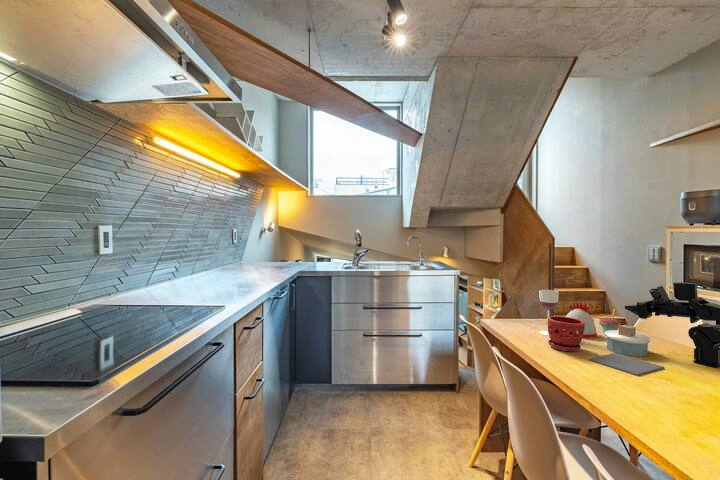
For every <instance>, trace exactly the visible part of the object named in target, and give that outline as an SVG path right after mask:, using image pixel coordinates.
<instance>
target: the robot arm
mask: <svg viewBox="0 0 720 480" xmlns="http://www.w3.org/2000/svg"><path fill="white" fill-rule="evenodd" d="M672 286H673V287H672V288H673V295H674V296H673V297H674V298H675V299H676V300H678V301H676V300H675V299H670V297H669V294H668V293H667V291H666V289H665V288H664V286H663V285H660V286H656V287H652V288H649V289H648V292H649V293H650V295H651V298H653V299H652V300H644V301H637V302H636V304H634V305H633V304H632V305H624V309H625V310H627V311H629V312H630V313H632V314H634V315H636V316H638V318H639V319H641V320H646V319H647V320H648V319H650V318H652V316H653V313H654V316H655V317H656V316H657V317H659V316H667V318H672V317H677V318H678V317H679V318H687V319H689V323H690V324H696V323H698V322H699V321H701V320H703V321H711V322H712V321H713V322H720V304H719V303H714V302H710V301H708V300H707V299H704V298H703V297H700V296H698V295H699V294H698V283H695V282H694V283H693V282H683V281H681V282H680V281H679V282H672ZM687 335H688V337H689V338H690V340H692V342H693V345H694V347H695V348H693V360H692V362H693V363H695V364H700V365H703V366H708V367H712V368H720V324H711V323H708V322H704V323H700V324H697V325H695V326H692V327H690V328H689V329H688V331H687Z"/></svg>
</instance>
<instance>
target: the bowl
mask: <svg viewBox="0 0 720 480" xmlns="http://www.w3.org/2000/svg"><path fill="white" fill-rule="evenodd" d="M606 349H607V350H609V351H611V352H613V353H618V354H621V355H624V354H625V356H631V355H632V357H644V356H648V354H649V343H646V344H635V343H627V342H621V341H616V340H613V339H610V338H608V337H606Z"/></svg>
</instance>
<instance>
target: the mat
mask: <svg viewBox="0 0 720 480" xmlns="http://www.w3.org/2000/svg"><path fill="white" fill-rule="evenodd" d="M588 361H590V362H594V363H597V364H600V365H603V366H605V367H608V368H612V369H615V370H618V371H621V372H624V373H626V374H629V375H633V376H636V377H637V376H641V375H645V374H650V373H653V372H657V371H660V370H664V369H665V366H662V365H660V364H656V363H654V362H653V363H652V362H648V361H646V360H642V359H638V358H634V357H633V356H632V357H631V356H629V355H624V354H620V353H616V352H613V353H609V354H603V355H599V356H594V357H590V358H588Z"/></svg>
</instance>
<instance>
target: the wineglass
mask: <svg viewBox="0 0 720 480" xmlns="http://www.w3.org/2000/svg"><path fill="white" fill-rule="evenodd" d="M538 295H539V296H538V297H539V303H540V304H541V307H543V308H544V309H546V310H547V319H546V321H547V323H546V325H547V330H546V331H545V330H542V331H539V333H540V335H544V336H549V334H548V317H550V310H552V309H554V308H556V307H557V305H558V302H559V297H560V296H559V295H560V293H559V290H554V289H539V291H538Z"/></svg>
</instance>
